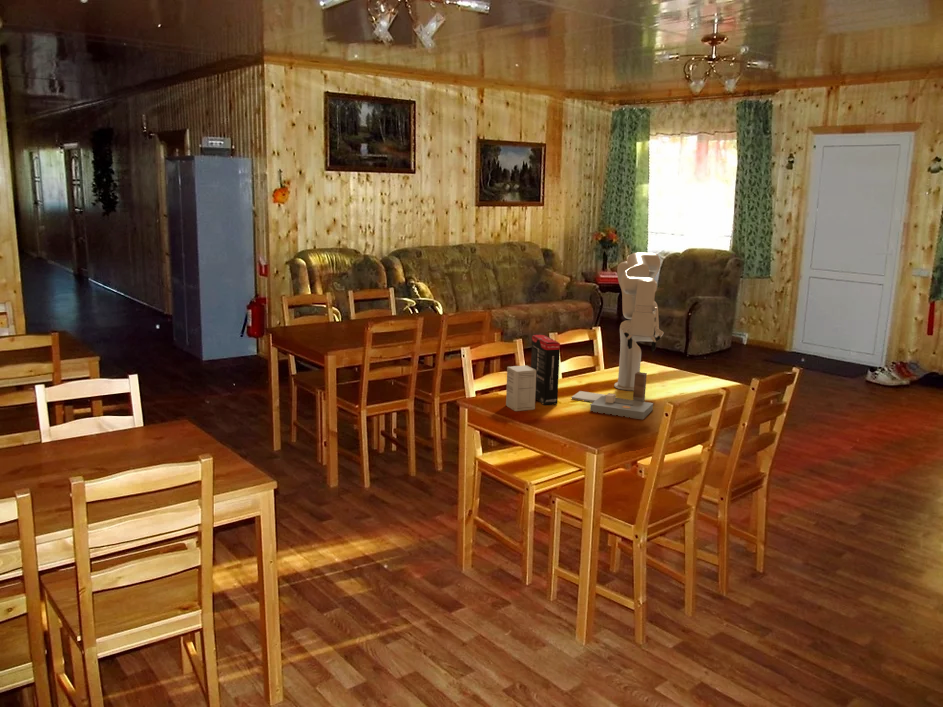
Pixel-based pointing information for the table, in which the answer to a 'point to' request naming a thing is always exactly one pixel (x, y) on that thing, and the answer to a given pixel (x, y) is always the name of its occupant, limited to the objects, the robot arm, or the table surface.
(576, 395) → the mat
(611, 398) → the switch tab
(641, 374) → the block
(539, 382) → the graphics card box
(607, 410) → the switch board
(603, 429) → the table surface
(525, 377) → the supplement box
